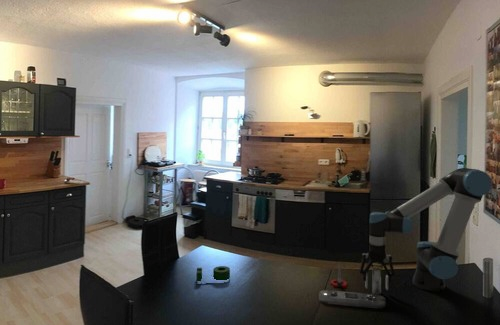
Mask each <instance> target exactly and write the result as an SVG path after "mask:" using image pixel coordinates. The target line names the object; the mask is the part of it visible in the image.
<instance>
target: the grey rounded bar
mask: <svg viewBox="0 0 500 325" xmlns="http://www.w3.org/2000/svg"><path fill="white" fill-rule="evenodd" d="M318 300H319V302H321V303H322V304H326V305H339V306H348V307H359V308H371V309H384V308H385V307H386V298H385V297H384V296H383V295H381V294H379V295H376V294H373V293H362V292H352V291H351V292H350V291H340V290H327V289H325V290H324V289H323V290H321V291H319V292H318Z"/></svg>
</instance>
